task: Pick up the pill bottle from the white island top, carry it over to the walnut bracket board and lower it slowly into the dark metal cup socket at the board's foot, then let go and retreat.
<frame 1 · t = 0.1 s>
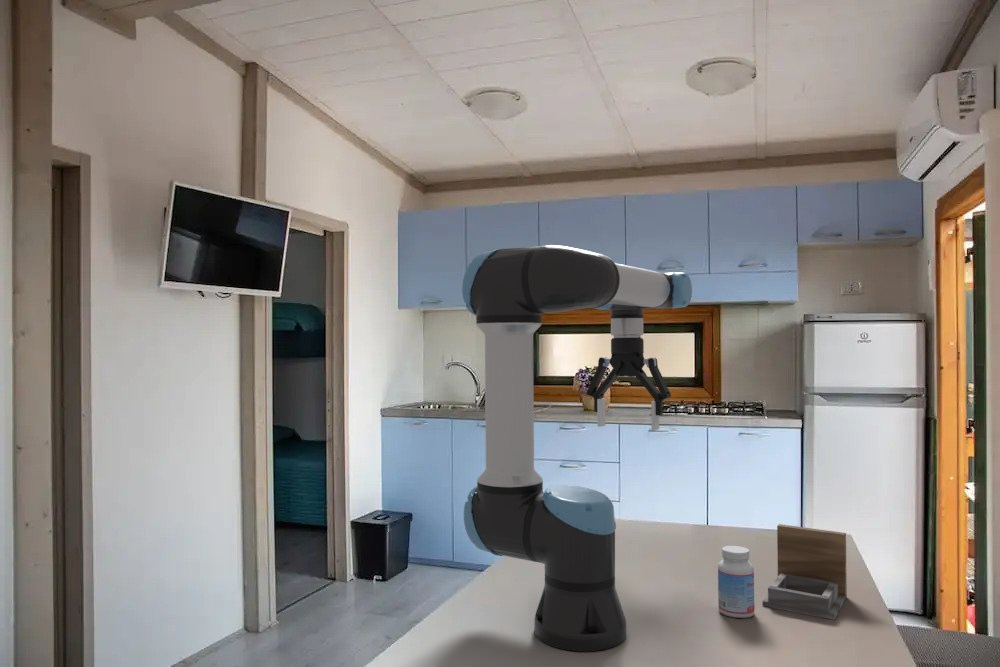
hand: (627, 427, 167), 28 cm above the table, fingers open, 13 cm apart
cup bracket: (803, 603, 130), on the table
pill bottle: (736, 613, 126), on the table
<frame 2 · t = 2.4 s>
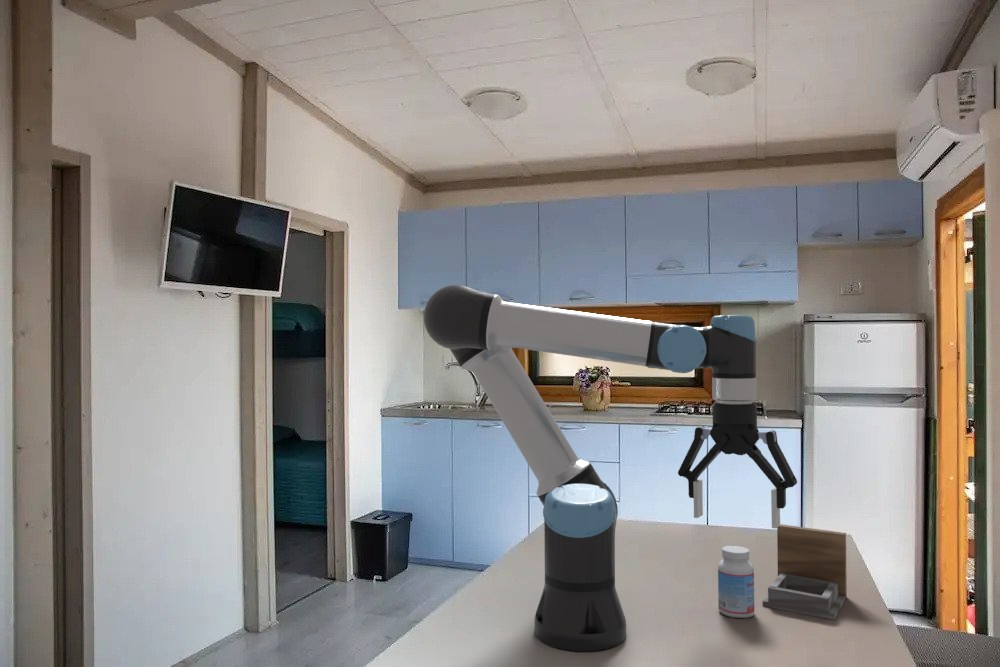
hand: (736, 521, 127), 16 cm above the table, fingers open, 13 cm apart
nothing on the table moved.
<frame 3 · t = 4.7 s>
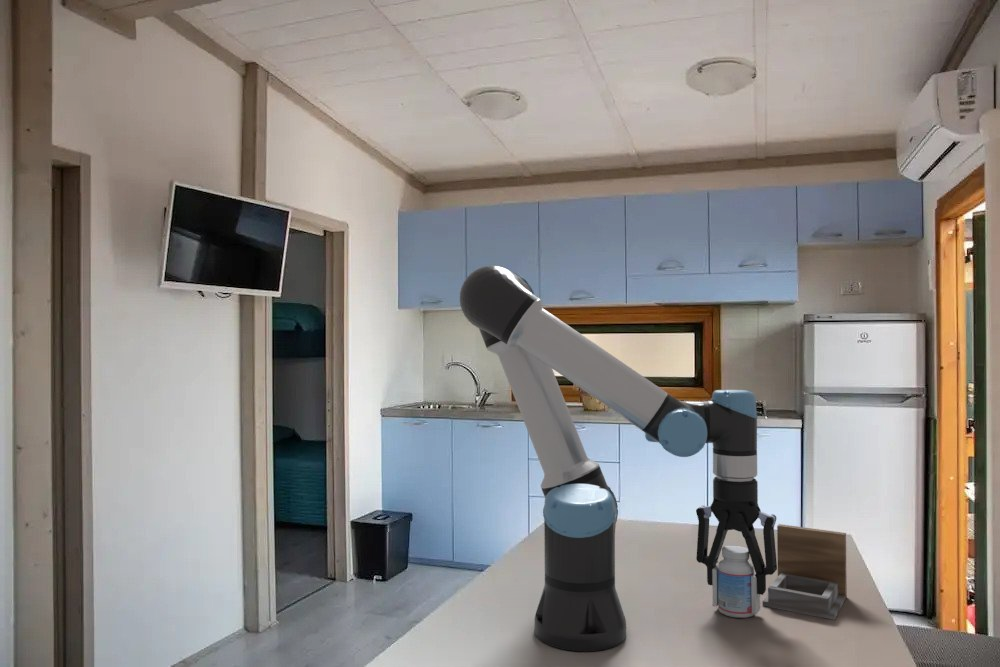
hand: (736, 607, 126), 1 cm above the table, fingers closed on pill bottle, 6 cm apart
pill bottle: (736, 613, 126), on the table, touching gripper
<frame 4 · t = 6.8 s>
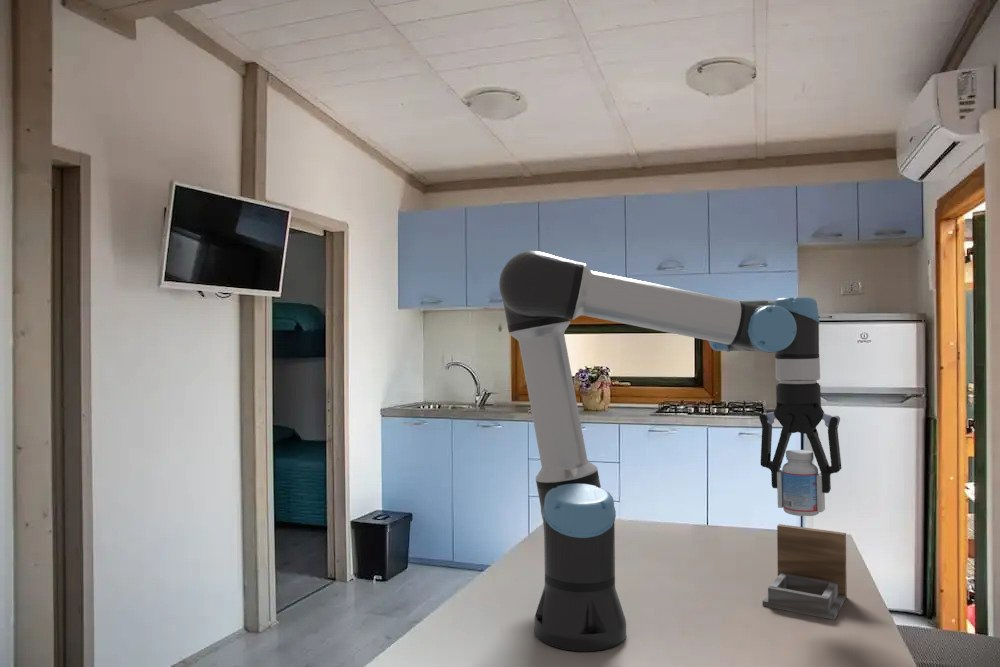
hand: (801, 508, 130), 18 cm above the table, fingers closed on pill bottle, 6 cm apart
pill bottle: (801, 514, 130), point 16 cm above the table, touching gripper
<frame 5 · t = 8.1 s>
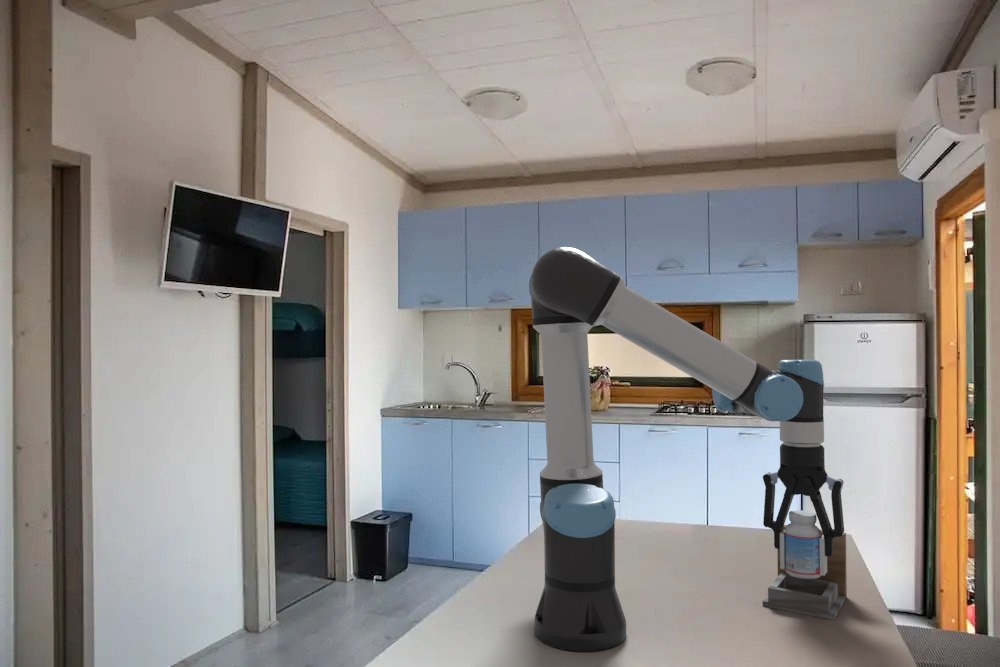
hand: (803, 569, 131), 6 cm above the table, fingers closed on pill bottle, 6 cm apart
pill bottle: (803, 575, 130), point 5 cm above the table, touching gripper
when the fingers open (4 cm above the table, at t = 9.1 s): pill bottle drops 2 cm, resting on cup bracket.
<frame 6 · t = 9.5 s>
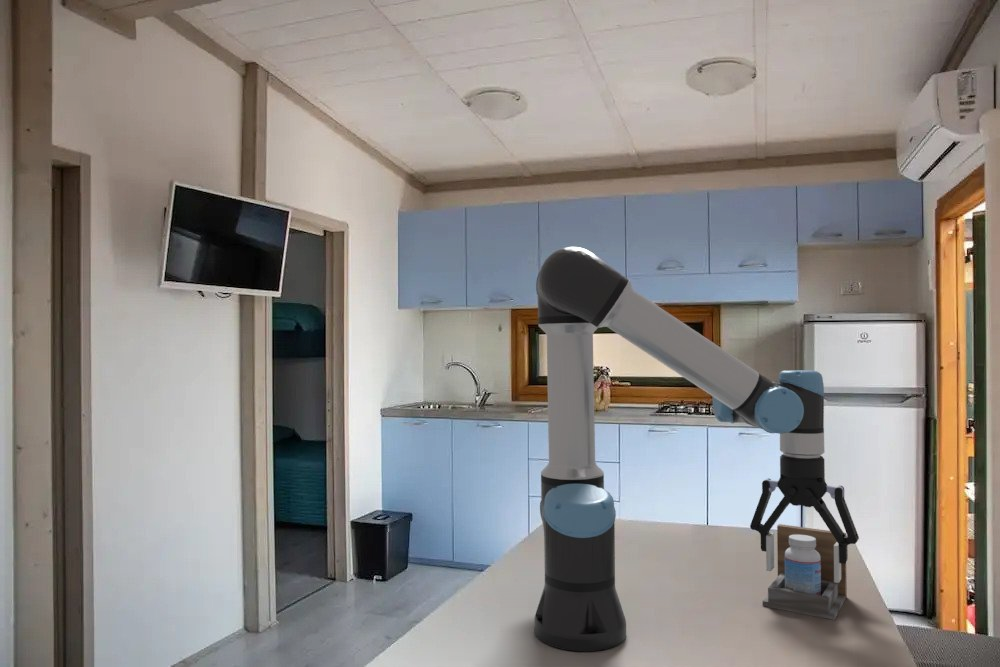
hand: (803, 574, 130), 5 cm above the table, fingers open, 11 cm apart
pill bottle: (802, 600, 130), point 1 cm above the table, touching cup bracket
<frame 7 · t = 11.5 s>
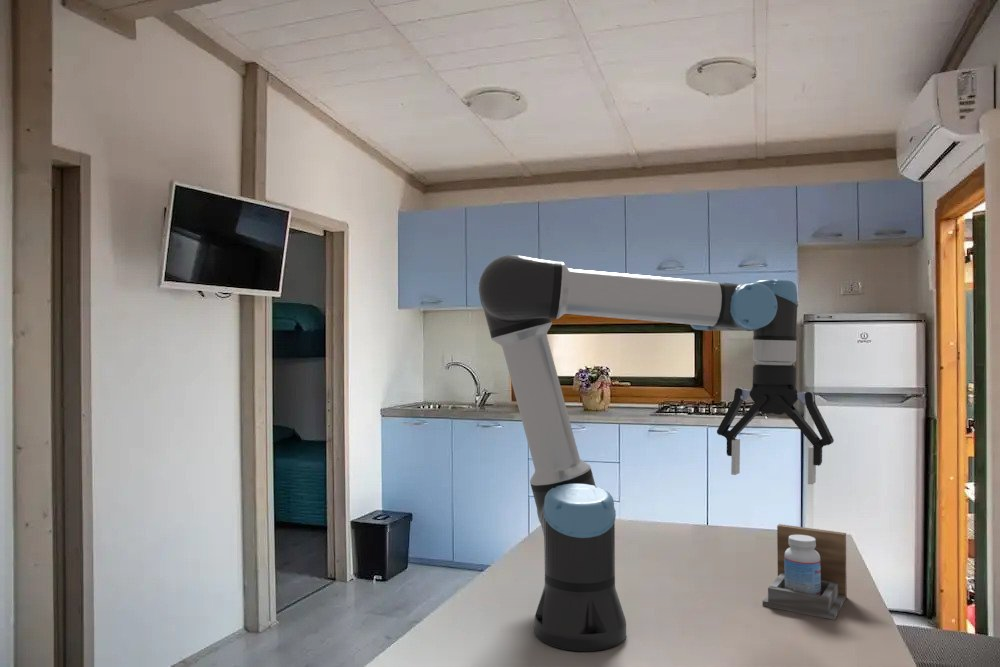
hand: (772, 478, 132), 23 cm above the table, fingers open, 13 cm apart
nothing on the table moved.
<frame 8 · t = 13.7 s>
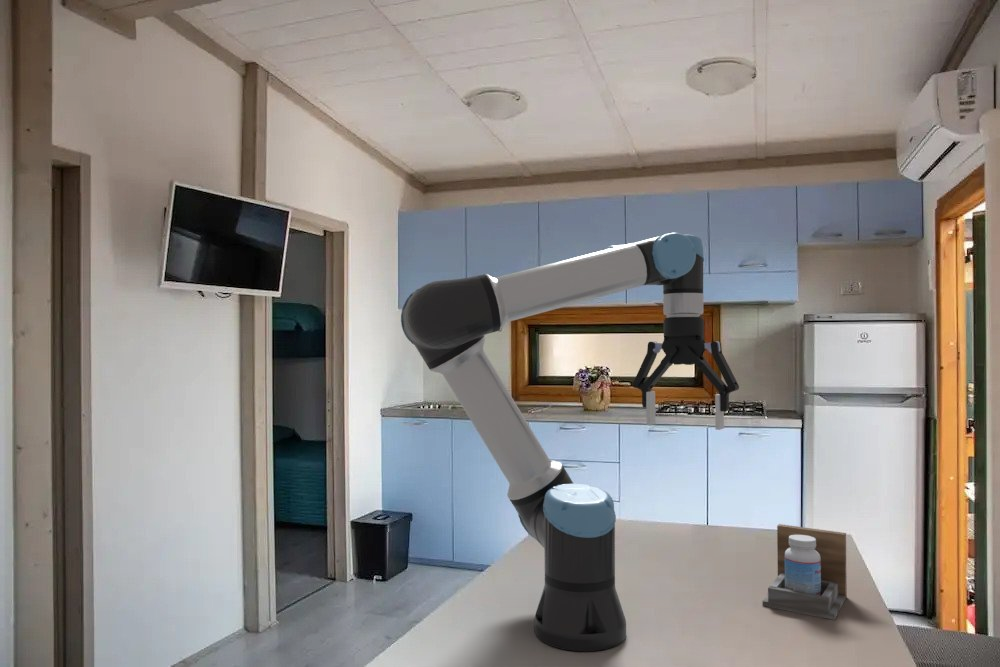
hand: (684, 426, 137), 32 cm above the table, fingers open, 13 cm apart
nothing on the table moved.
at the end: pill bottle 0.1 cm off-centre on the cup bracket, point 0.6 cm above the cup bracket's base; pill bottle tilted 0°; the gripper is holding nothing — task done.
